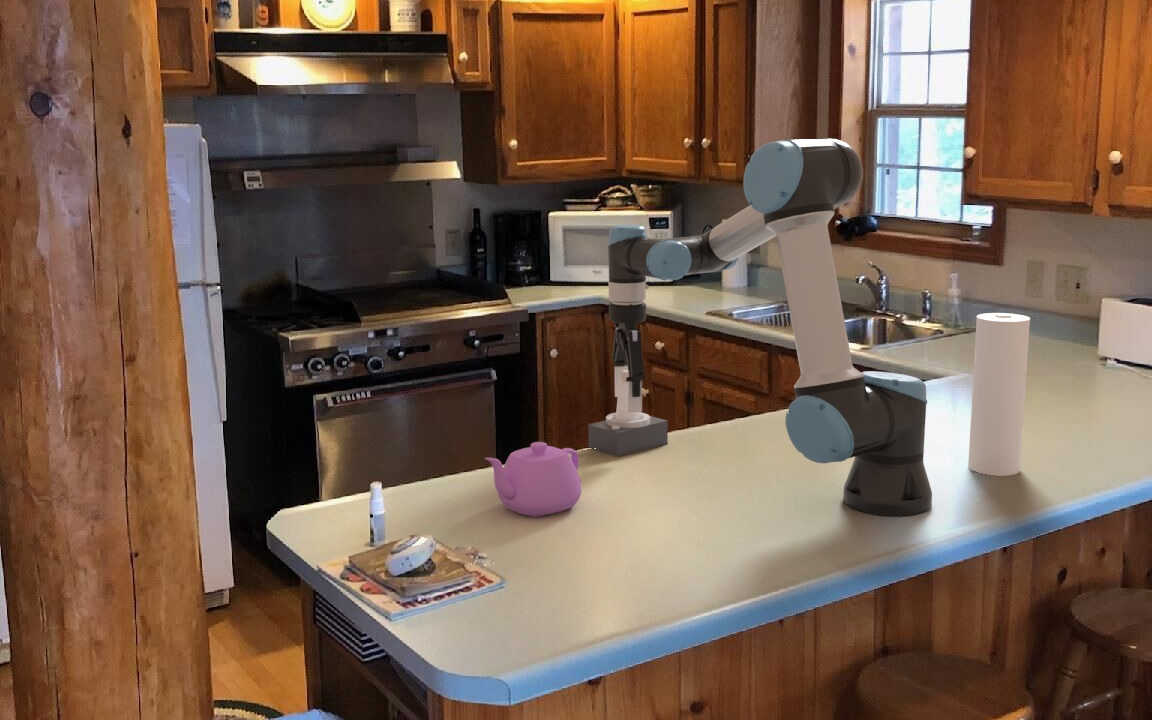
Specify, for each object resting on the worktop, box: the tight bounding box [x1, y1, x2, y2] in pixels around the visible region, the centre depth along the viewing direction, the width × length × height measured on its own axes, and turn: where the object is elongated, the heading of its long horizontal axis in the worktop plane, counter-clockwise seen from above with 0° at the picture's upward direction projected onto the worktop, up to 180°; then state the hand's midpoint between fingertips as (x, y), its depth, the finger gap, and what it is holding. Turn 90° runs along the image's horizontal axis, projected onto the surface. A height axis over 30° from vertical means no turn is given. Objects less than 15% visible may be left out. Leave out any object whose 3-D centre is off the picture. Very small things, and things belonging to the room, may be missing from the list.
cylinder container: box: [967, 312, 1031, 477], centre depth 226 cm, size 9×9×30 cm
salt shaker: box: [615, 370, 641, 421], centre depth 245 cm, size 5×5×11 cm
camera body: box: [587, 412, 669, 458], centre depth 247 cm, size 14×9×6 cm, turn 130°
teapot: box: [484, 441, 582, 518], centre depth 208 cm, size 20×13×12 cm, turn 128°
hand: (628, 404), depth 246 cm, fingers open, 13 cm apart
